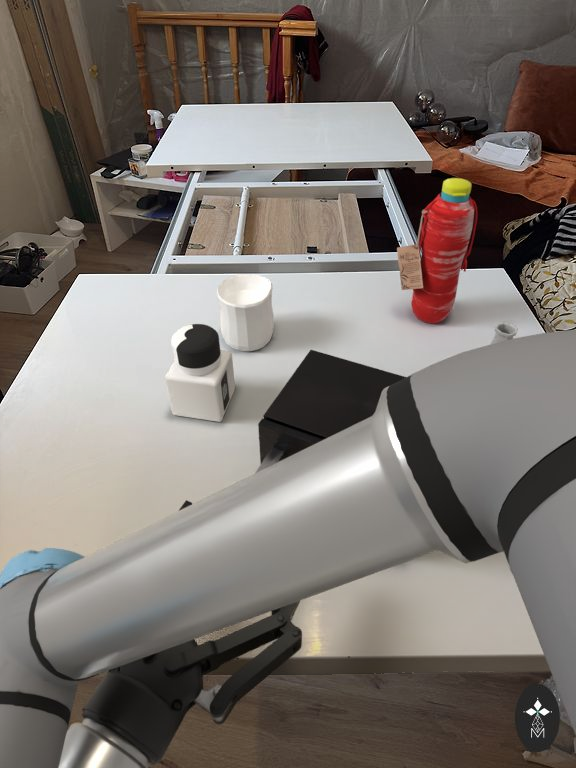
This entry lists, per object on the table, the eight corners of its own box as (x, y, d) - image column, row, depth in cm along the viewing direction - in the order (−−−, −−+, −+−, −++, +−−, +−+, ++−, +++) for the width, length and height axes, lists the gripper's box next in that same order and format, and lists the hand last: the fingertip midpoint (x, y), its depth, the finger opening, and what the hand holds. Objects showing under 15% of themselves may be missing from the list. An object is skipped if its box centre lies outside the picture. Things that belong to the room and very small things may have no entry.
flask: (457, 378, 86) (471, 327, 79) (482, 358, 89) (497, 308, 83) (497, 400, 82) (516, 349, 75) (522, 379, 85) (541, 328, 79)
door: (384, 603, 58) (403, 527, 48) (240, 540, 64) (230, 461, 54) (402, 552, 62) (423, 473, 53) (266, 497, 68) (262, 417, 58)
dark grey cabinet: (402, 551, 63) (423, 470, 53) (267, 497, 69) (263, 415, 59) (430, 472, 71) (453, 390, 61) (308, 430, 77) (310, 349, 67)
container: (235, 388, 84) (229, 321, 75) (221, 423, 78) (212, 354, 70) (189, 382, 85) (177, 314, 76) (171, 415, 80) (157, 347, 71)
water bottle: (392, 328, 96) (414, 191, 79) (386, 303, 102) (405, 171, 85) (459, 328, 96) (495, 191, 79) (449, 303, 102) (481, 171, 85)
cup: (265, 315, 99) (263, 268, 92) (283, 346, 92) (283, 298, 86) (215, 325, 97) (209, 278, 90) (230, 358, 90) (225, 310, 83)
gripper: (16, 687, 49) (154, 510, 63) (256, 839, 41) (352, 596, 55) (-16, 654, 44) (142, 469, 58) (251, 820, 36) (358, 558, 50)
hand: (245, 531), depth 56 cm, fingers open, 13 cm apart
